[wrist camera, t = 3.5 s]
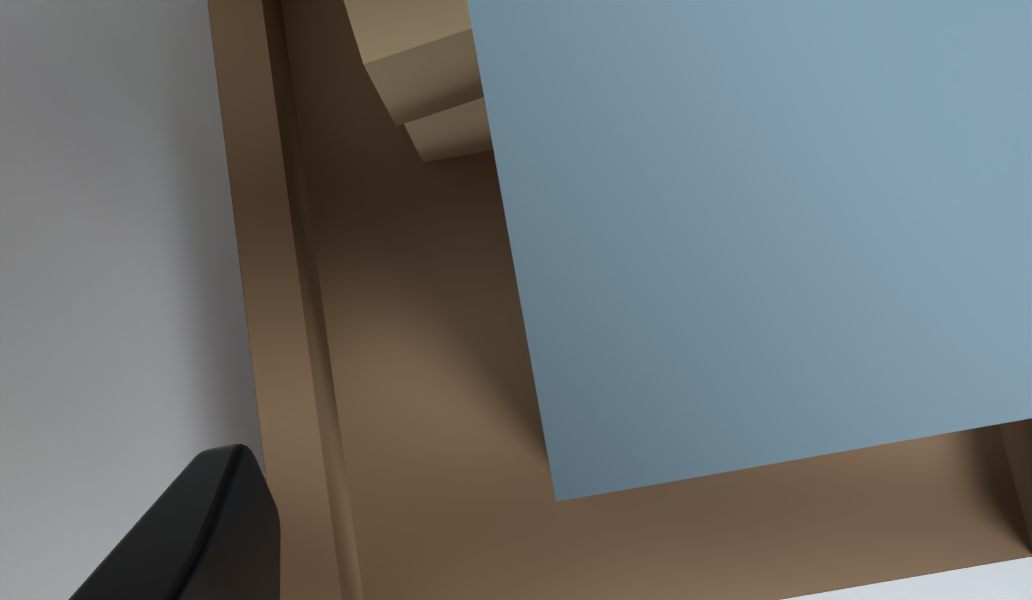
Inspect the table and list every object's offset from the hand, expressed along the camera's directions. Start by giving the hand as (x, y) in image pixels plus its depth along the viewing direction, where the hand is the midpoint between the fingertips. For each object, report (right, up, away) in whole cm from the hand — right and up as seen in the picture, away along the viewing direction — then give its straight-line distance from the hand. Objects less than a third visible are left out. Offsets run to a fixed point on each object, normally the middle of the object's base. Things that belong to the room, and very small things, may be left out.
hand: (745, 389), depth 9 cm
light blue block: (0, 0, +9) cm, 9 cm away
